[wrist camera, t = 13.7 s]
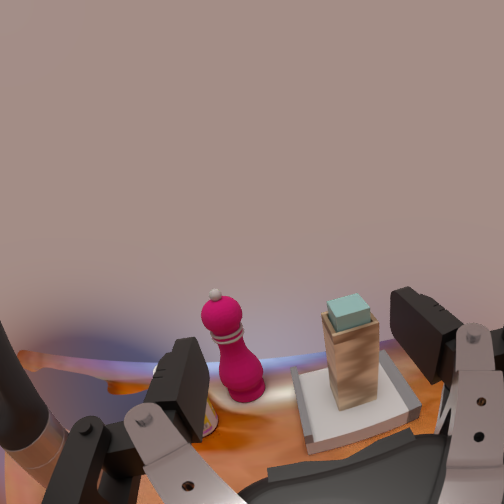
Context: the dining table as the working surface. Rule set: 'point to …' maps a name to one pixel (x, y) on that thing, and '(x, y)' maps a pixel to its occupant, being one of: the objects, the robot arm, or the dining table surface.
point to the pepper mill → (233, 348)
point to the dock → (357, 418)
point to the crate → (352, 362)
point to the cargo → (348, 312)
